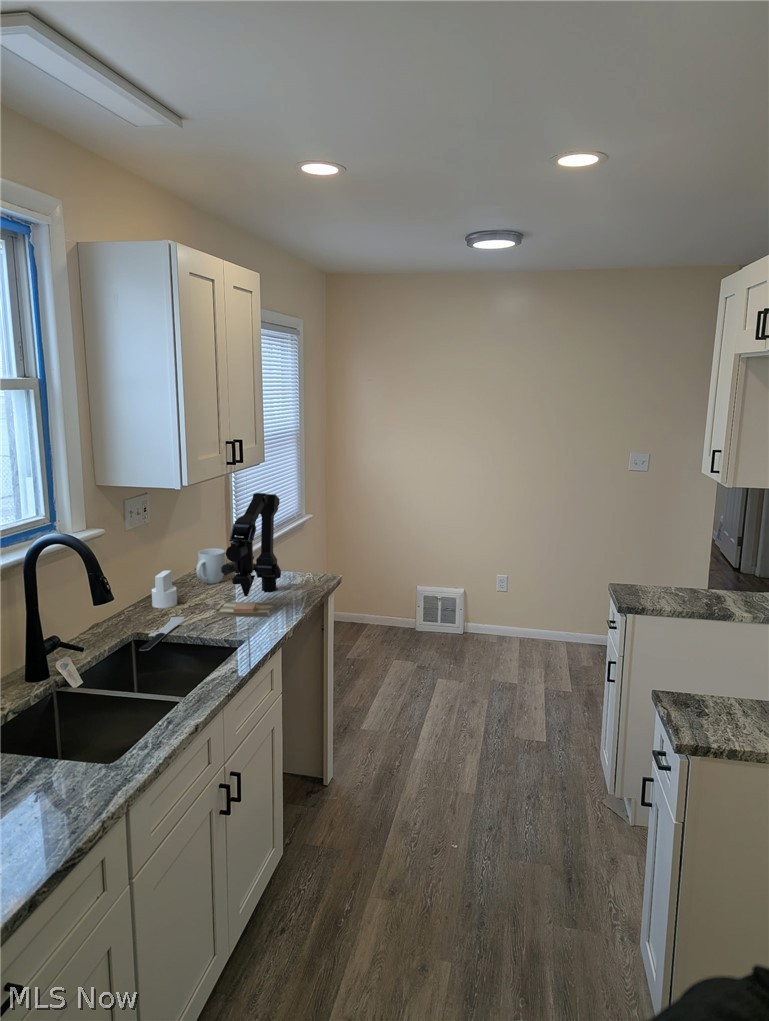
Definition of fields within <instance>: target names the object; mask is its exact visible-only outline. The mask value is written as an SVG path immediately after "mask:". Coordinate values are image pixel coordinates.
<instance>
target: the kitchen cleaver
mask: <svg viewBox="0 0 769 1021" xmlns="http://www.w3.org/2000/svg"><path fill="white" fill-rule="evenodd" d="M170 618H171V619H170V621H169V622H168V623H167V624H166V625H165V626H164V627H162V628H161V629H160V630H159V632H154V633H152V632H151V633H150V634H148V636H147V637H152V638H151V639H150V640H149V641H147V642H146V643H145V644H144V645H142V646H141V647H139V650H138V651H140V652H146V653H147V652H149V651H150V650H152V649H153V648H154V646H156V645H157V644H158V643H159V642H161V641H162V640H163V639H164V638H165V637H166V635H167V634H169V633H170V632H171V631H172V630H174V629H175V628H176V627H178V626H179V625H180V624H181V622H183V620H184V618H185V616H173V617H170Z"/></svg>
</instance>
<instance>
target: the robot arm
mask: <svg viewBox="0 0 769 1021" xmlns="http://www.w3.org/2000/svg"><path fill="white" fill-rule="evenodd" d="M280 501H281V500H280V497H278V496H277V494H273V493H265V492H255V493H253V495H252V500H251V501H250V503H249V505H248V507H247V508H246V509H245V512H244V514H243V515H242V516H239V517H238V518H237V519H236V520H235V522H234V523H233V524H232V528H231V531H230V535H229V542H230V546H228V547H227V548H226V550H225V558H227V560H228V561H230V562H227V563H225V565H223V566H222V567H221V572H222V573H223V574H224V576H223V577H225V576H228V575H230V574H232V573H234V576H233V577H232V578H231V584H232V585H240V587H241V591H242V593H243V596H244V597H248V596H249V594H250V591H251V588H252V585H253V582H254V580H255V577H256V578H260V579H261V591H262V592H264V593H272V592H274V591H279V588H278V587H277V580H278V579H281V575H282V570H281V568H280V566H279V564H278V559H277V557H276V555H275V553H274V533H275V532H274V530H275V529H274V528H275V527H274V522H275V520H274V519H275V515H277V512H278V510H279V506H280ZM259 516H260V517H261V528H260V529H261V530H260V532H261V534H260V536H261V537H260V539H261V540H260V542H261V543H260V546H261V547H260V554H259V556H258V557H257V558H256V560H255V561H256V563H254V559H255V555H254V548H253V547H254V546H253V544H254V542H253V541H254V539H255V534H256V532H257V526H256V523H257V519H258V518H259ZM253 572H255V575H254V574H253Z"/></svg>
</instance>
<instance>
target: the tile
mask: <svg viewBox="0 0 769 1021" xmlns="http://www.w3.org/2000/svg"><path fill="white" fill-rule="evenodd" d="M255 608H256V603H237V604H236V606H235V607H234V612H254V610H255Z"/></svg>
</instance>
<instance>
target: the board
mask: <svg viewBox="0 0 769 1021" xmlns="http://www.w3.org/2000/svg"><path fill="white" fill-rule="evenodd" d="M237 603H256V608H255V610H254V612H234V607H235V606H236V604H237ZM273 604H274V602H271V601H270V602H267V601H266V602H264V601H263V602H261V601H259V602H255V601H254V602H253V601H251V602H246V601H245V602H244V601H243V602H242V601H241V602H239V601H238V602H237V601H235V602H232V601H231V602H230V601H229V602H228V601H226V602H224V604H223V606H222V607H221V608H220V610H219V611H216V612H215V617H217V618H219V617H222V618H223V617H224V618H226V617H227V618H228V617H229V618H232V617H233V618H236V617H237V618H238V617H239V618H240V617H241V618H243V617H244V618H250V617H251V618H252V617H253V618H258V617H259V618H263V617H264V618H268V616H269V613H270V611H271V609H272V606H273Z"/></svg>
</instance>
